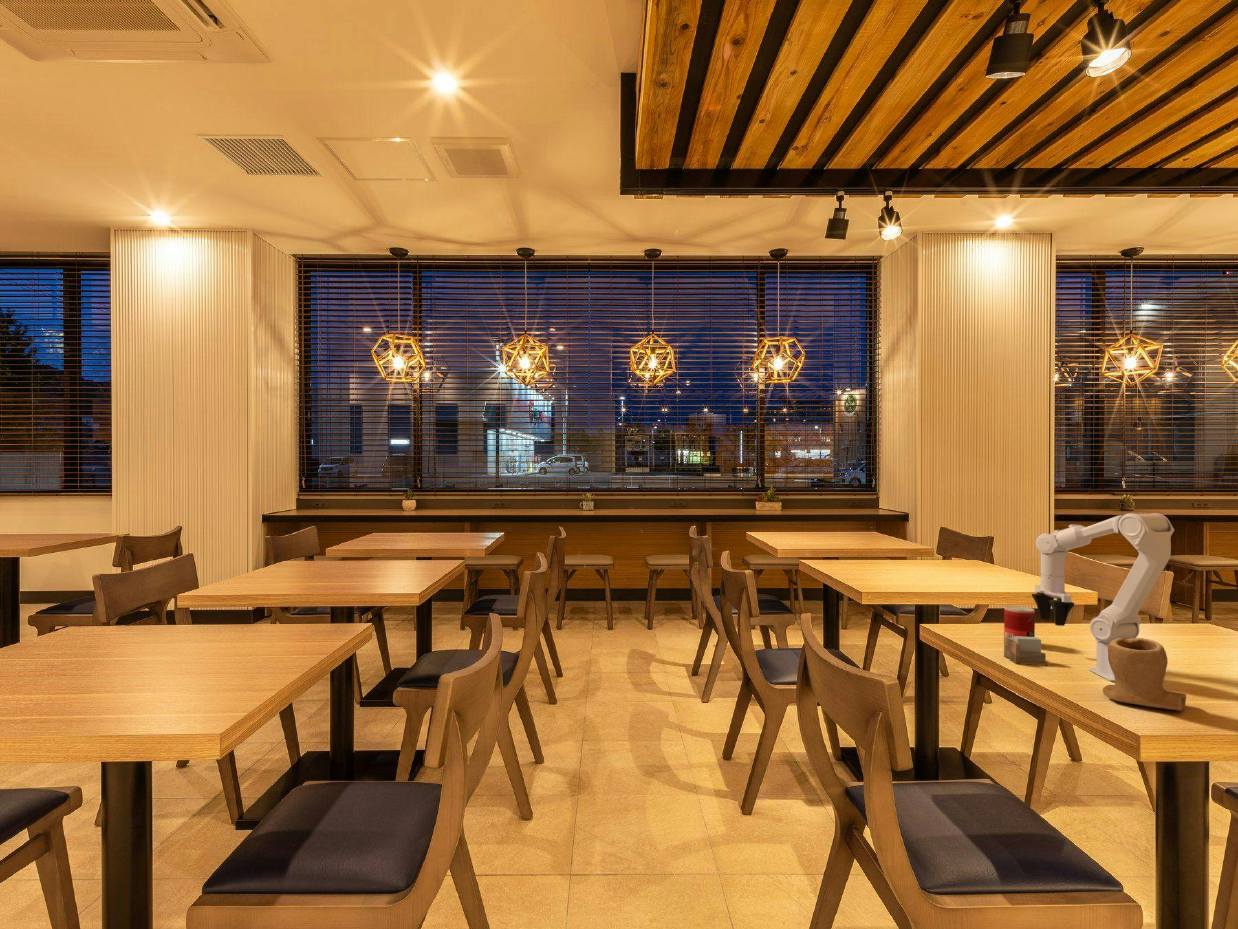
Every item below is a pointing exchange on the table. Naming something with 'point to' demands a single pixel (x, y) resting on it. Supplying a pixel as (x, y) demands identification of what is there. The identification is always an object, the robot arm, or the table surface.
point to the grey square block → (1028, 644)
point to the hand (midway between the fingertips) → (1052, 622)
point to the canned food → (1019, 621)
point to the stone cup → (1140, 674)
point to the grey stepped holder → (1022, 654)
